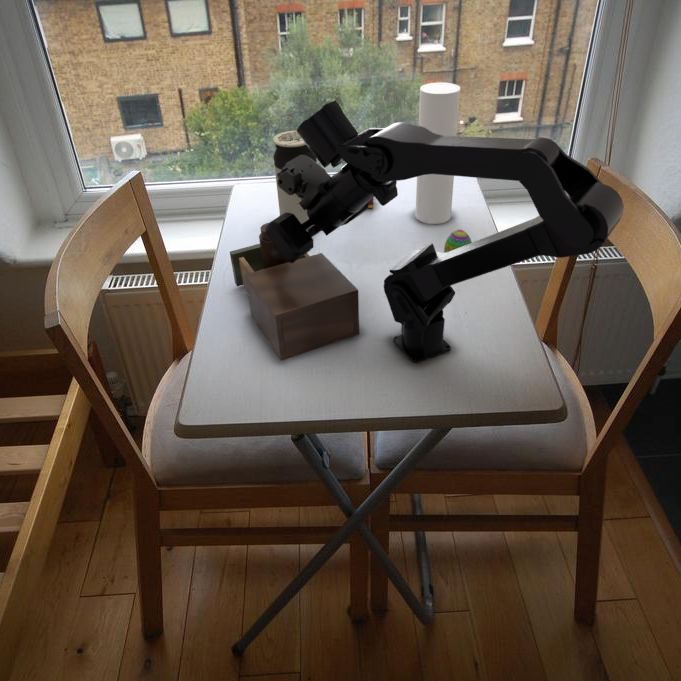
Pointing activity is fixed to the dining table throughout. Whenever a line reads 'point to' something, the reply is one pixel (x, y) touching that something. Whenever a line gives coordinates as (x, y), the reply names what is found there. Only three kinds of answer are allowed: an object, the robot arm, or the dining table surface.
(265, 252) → the lidded jar
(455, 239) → the egg
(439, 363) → the dining table surface
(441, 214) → the cylindrical container
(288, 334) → the cabinet
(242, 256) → the drawer
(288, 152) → the travel mug
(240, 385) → the dining table surface
